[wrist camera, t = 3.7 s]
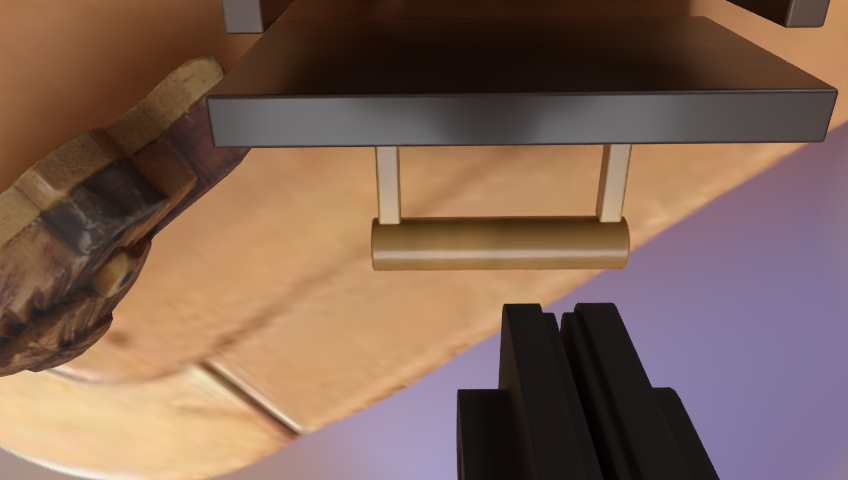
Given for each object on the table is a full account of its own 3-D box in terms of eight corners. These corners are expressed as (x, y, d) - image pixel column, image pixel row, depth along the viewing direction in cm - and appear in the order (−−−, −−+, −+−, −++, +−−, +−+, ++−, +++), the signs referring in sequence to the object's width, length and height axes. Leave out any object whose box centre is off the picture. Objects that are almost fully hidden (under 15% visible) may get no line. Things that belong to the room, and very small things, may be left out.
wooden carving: (47, 352, 28) (-123, 572, 19) (-56, 283, 27) (-293, 490, 18) (318, 83, 23) (250, 220, 14) (208, -24, 21) (55, 57, 12)
